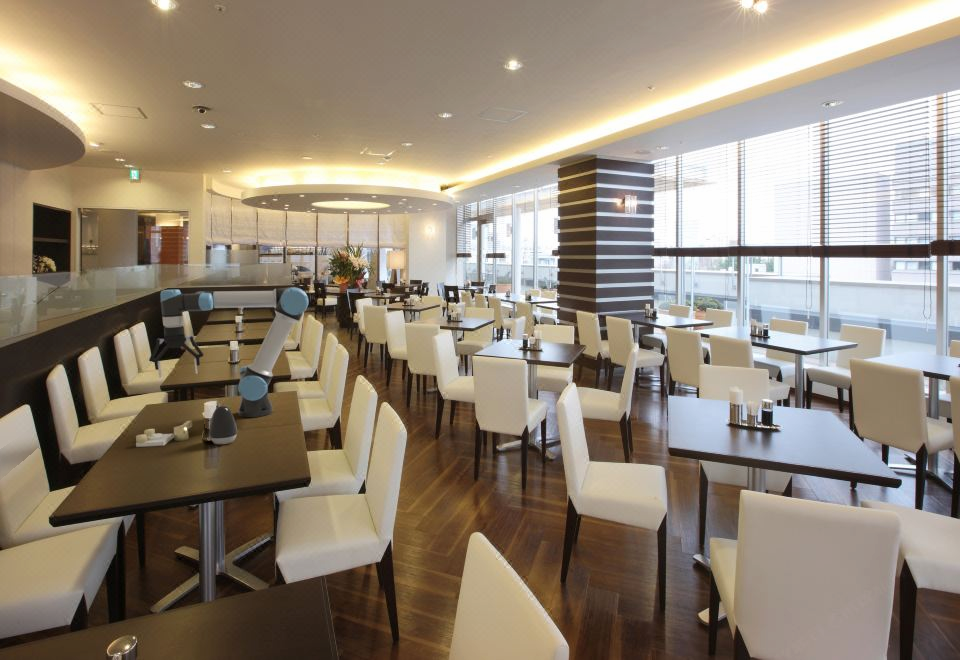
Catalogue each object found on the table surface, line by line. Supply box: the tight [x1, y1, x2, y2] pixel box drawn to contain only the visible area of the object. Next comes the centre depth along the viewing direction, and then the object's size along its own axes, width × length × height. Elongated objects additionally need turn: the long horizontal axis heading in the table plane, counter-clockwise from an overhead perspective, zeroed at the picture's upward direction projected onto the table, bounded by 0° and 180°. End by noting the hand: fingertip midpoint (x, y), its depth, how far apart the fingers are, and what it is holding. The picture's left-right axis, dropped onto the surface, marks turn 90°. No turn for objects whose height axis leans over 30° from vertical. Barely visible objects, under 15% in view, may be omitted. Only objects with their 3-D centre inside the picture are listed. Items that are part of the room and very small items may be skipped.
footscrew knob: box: [173, 420, 193, 442], centre depth 223 cm, size 12×5×5 cm, turn 9°
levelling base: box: [135, 428, 175, 448], centre depth 218 cm, size 10×14×4 cm
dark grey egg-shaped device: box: [208, 405, 238, 445], centre depth 216 cm, size 10×10×15 cm
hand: (178, 375), depth 232 cm, fingers open, 13 cm apart
